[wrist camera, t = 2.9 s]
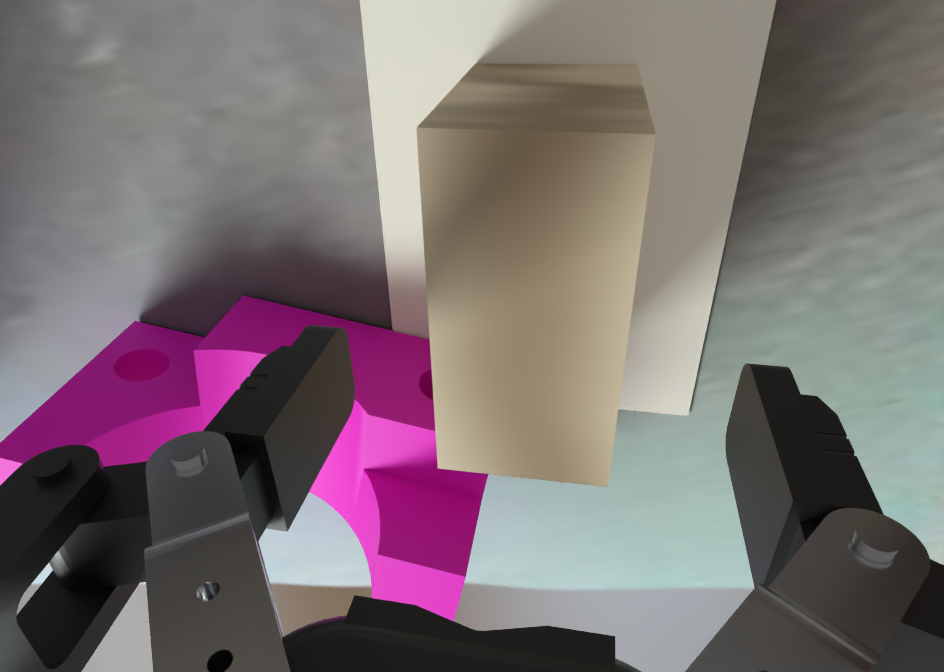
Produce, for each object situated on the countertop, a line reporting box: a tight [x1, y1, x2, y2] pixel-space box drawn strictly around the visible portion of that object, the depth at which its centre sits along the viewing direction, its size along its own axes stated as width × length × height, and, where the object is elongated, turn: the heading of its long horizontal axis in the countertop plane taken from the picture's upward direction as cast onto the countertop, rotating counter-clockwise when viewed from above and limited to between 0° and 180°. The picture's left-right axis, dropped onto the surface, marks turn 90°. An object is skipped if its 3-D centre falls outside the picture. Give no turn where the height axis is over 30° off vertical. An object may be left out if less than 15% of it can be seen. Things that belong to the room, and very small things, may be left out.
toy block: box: [0, 295, 488, 621], centre depth 22 cm, size 15×6×8 cm, turn 81°
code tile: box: [360, 0, 776, 416], centre depth 20 cm, size 11×15×1 cm
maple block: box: [416, 63, 656, 487], centre depth 17 cm, size 4×9×7 cm, turn 2°
